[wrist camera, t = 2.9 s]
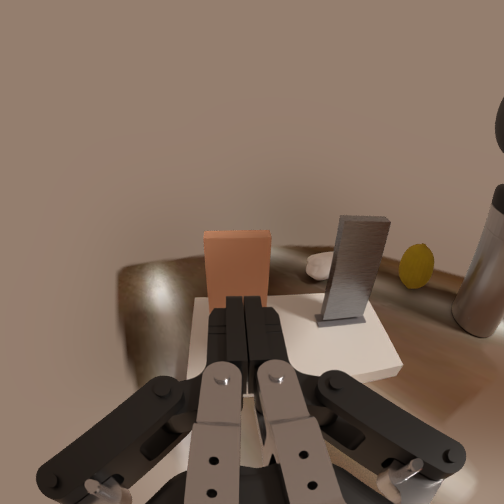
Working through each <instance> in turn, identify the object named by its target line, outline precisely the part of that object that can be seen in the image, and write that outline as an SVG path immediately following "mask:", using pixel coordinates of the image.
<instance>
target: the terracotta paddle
mask: <svg viewBox="0 0 504 504" xmlns="http://www.w3.org/2000/svg"><path fill="white" fill-rule="evenodd" d="M204 253H205V267H206V279H207V291H208V302H209V313H211V312H212V310H213V309H214V308H226V296H242V298H243V296H260V297H261V303H262V307H267V295H268V282H269V268H270V253H271V234H270V231H269V230H241V231H205V232H204Z"/></svg>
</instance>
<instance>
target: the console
mask: <svg viewBox="0 0 504 504" xmlns="http://www.w3.org/2000/svg"><path fill="white" fill-rule="evenodd" d="M324 295H325V293H319V294H300V295H278V296H267V307H273V308H274V309H275V311H276V312H277V313H278V314H279V317H280V322H281V326H282V332H283V336H284V340H285V345H286V349H287V354H288V359H289V362H290V364H291V365H292V366H293V367H294V368H295V369H296V370H297V371H299V372H301V373H304V374H308V375H314V376H321V375H322V374H323V373H324V372H326V371H329V370H340V371H343V372H345V373H347V374H348V375H350V376H351V377H353V378H354V379H356V380H357V381H359V382H360V383H366V382H371V381H375V380H380V379H384V378H389V377H393V376H396V375H397V374H398V372H399V371H400V369H401V367H402V366H403V364H402V362H401V360H400V358H399V356H398V354H397V352H396V350H395V348H394V346H393V344H392V342H391V341H390V339H389V337H388V335H387V333H386V331H385V329H384V327H383V326H382V324H381V322H380V320H379V318H378V317H377V315H376V313H375V311H374V309H373V308H372V306H371V304H370V302H369V301H368V303H367V306H366V308H365V311H364V314H363V316H359V317H349V318H339V319H328V320H323V318H322V316H321V313H320V312H321V308H322V304H323V300H324ZM209 315H210V313H209V302H208V297H195V302H194V310H193V319H192V328H191V337H190V347H189V358H188V368H187V380H188V379H191V378H194V377H196V376H198V375H199V374H200V373H202V371H203V370H204V368H205V366H206V362H207V339H208V319H209ZM243 397H254V394H248V387H247V392H246V394H243Z"/></svg>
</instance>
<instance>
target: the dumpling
mask: <svg viewBox="0 0 504 504" xmlns="http://www.w3.org/2000/svg"><path fill="white" fill-rule="evenodd" d="M332 258H333V252H324V253H319V254H314V255H311V256H309V257H308V258H307V262H308V264H307V267H306V273H307V274H308V275H309V276H310V277H312V278H314V279H316V280H325V279H328V277H329V272H330V267H331V263H332Z"/></svg>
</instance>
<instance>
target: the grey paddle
mask: <svg viewBox="0 0 504 504" xmlns="http://www.w3.org/2000/svg"><path fill="white" fill-rule="evenodd" d="M390 224H391V222H390V221H389V220H388V219H387V218H386V217H379V216H347V215H346V216H344V215H341V216H340V219H339V226H338V231H337V237H336V242H335V247H334V252H333V258H332V263H331V267H330V272H329V277H328V282H327V286H326V291H325V295H324V300H323V304H322V308H321V312H320V313H321V316H322V318H323V320H328V319H339V318H349V317H359V316H363V314H364V311H365V308H366V306H367V303H368V300H369V297H370V294H371V291H372V288H373V285H374V281H375V278H376V275H377V272H378V268H379V265H380V262H381V258H382V255H383V251H384V247H385V244H386V240H387V236H388V232H389V228H390Z"/></svg>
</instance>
